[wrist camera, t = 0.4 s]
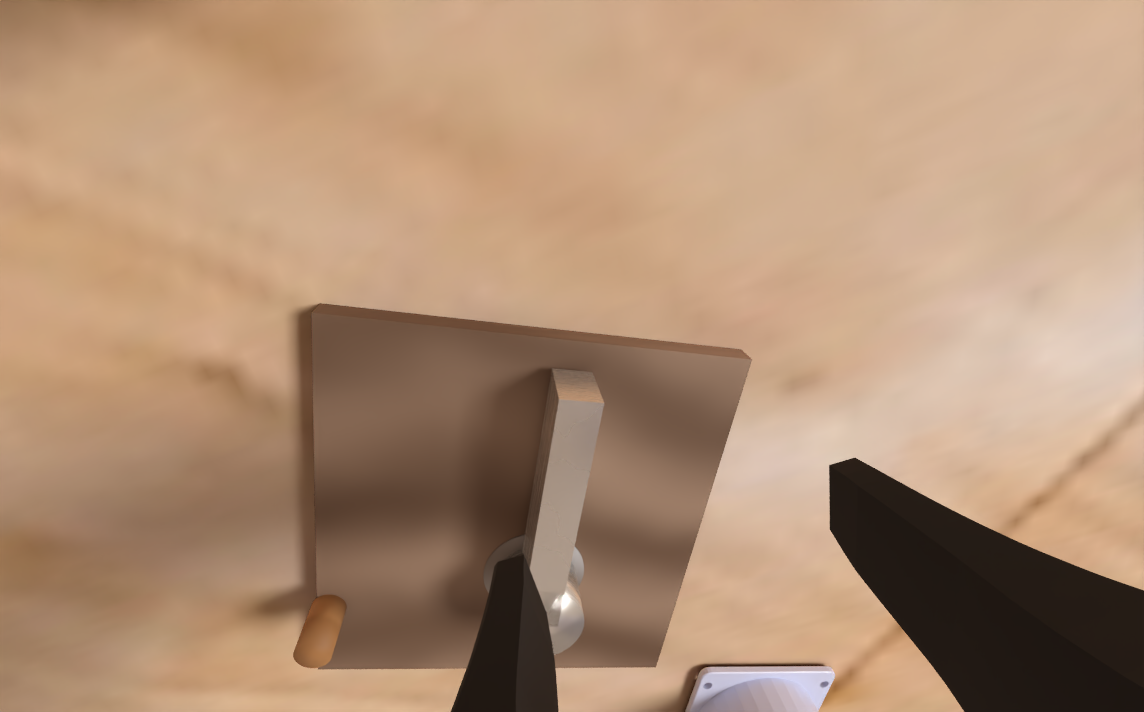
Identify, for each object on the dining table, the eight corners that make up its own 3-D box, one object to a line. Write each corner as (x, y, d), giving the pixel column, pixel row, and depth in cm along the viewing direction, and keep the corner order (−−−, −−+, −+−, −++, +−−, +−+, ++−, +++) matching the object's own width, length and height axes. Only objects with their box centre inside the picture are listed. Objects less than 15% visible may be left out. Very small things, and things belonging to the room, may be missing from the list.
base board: (650, 649, 28) (669, 712, 25) (319, 649, 25) (296, 721, 22) (741, 349, 22) (780, 385, 19) (314, 302, 19) (279, 336, 16)
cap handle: (569, 610, 24) (576, 658, 22) (488, 609, 24) (488, 659, 21) (619, 374, 20) (635, 405, 18) (523, 365, 19) (526, 396, 17)
